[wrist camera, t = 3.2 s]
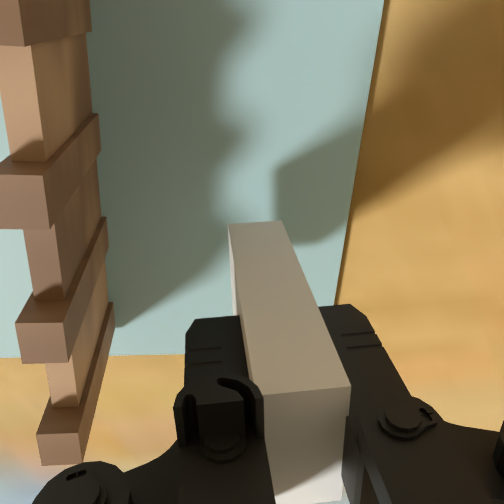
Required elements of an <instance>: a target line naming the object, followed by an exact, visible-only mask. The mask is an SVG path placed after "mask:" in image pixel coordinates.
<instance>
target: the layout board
mask: <svg viewBox="0 0 504 504" xmlns="http://www.w3.org/2000/svg"><path fill="white" fill-rule="evenodd" d="M383 5H384V0H90V13H91V25H92V32H87V33H86V40H87V52H88V63H89V75H90V87H91V99H92V111H93V113H98V114H99V127H100V139H101V151H100V153H99V154H98V156H97V158H96V159H97V170H98V182H99V194H100V206H101V217H107V228H108V241H109V248H108V251H107V254H106V257H105V265H106V277H107V289H108V301H109V302H113V304H114V317H115V331H114V335H113V339H112V343H111V347H110V351H109V356H112V355H161V354H185V334H186V332H187V330H188V329H189V327H190V326H191V324H192V323H193V321H194V320H195V319H199V318H211V317H222V316H234V315H233V308H232V291H231V274H230V256H229V238H228V224H236V223H250V222H264V221H278V220H282V222H283V225H284V227H285V230H286V232H287V234H288V237H289V239H290V241H291V244H292V246H293V249H294V251H295V253H296V256H297V258H298V261H299V263H300V265H301V268H302V270H303V272H304V275H305V277H306V280H307V282H308V284H309V287H310V289H311V291H312V294H313V296H314V299H315V301H316V303H317V306H318V307H320V306H332V305H334V300H335V294H336V288H337V282H338V276H339V270H340V264H341V258H342V252H343V246H344V240H345V234H346V228H347V222H348V216H349V210H350V204H351V198H352V192H353V186H354V180H355V174H356V168H357V162H358V156H359V150H360V144H361V137H362V131H363V125H364V119H365V113H366V107H367V101H368V95H369V89H370V83H371V77H372V71H373V65H374V59H375V53H376V47H377V41H378V35H379V29H380V23H381V17H382V11H383ZM9 155H10V149H9V143H8V137H7V131H6V125H5V119H4V113H3V107H2V101H1V95H0V162H1V161H3V160H4V159H5V158H6V157H8V156H9ZM32 291H33V288H32V282H31V276H30V270H29V264H28V258H27V252H26V246H25V240H24V234H23V229H0V358H13V357H21V354H20V349H19V344H18V339H17V334H16V329H15V321H16V320H17V318H18V316H19V314H20V313H21V311H22V309H23V307H24V306H25V304H26V302H27V300H28V298H29V297H30V295H31V293H32Z"/></svg>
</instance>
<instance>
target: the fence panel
mask: <svg viewBox="0 0 504 504" xmlns="http://www.w3.org/2000/svg"><path fill="white" fill-rule="evenodd" d="M87 32H92V25H91V13H90V0H0V95H1V101H2V107H3V113H4V119H5V125H6V131H7V137H8V143H9V149H10V155H9V156H8V157H6V158H5V159H4V160H3V161H1V162H0V229H23V234H24V240H25V246H26V252H27V258H28V264H29V270H30V276H31V282H32V288H33V291H32V293H31V295H30V297H29V298H28V300H27V302H26V304H25V306H24V307H23V309H22V311H21V313H20V314H19V316H18V318H17V320H16V321H15V329H16V334H17V339H18V344H19V349H20V354H21V360H22V364H36V363H45V366H46V372H47V378H48V384H49V390H50V398H49V401H48V403H47V406H46V409H45V411H44V414H43V417H42V420H41V422H40V425H39V428H38V431H37V433H36V437H37V442H38V448H39V453H40V458H41V463H42V466H48V465H68V464H80V463H83V459H84V455H85V451H86V446H87V442H88V438H89V434H90V430H91V426H92V422H93V418H94V413H95V409H96V405H97V401H98V397H99V393H100V389H101V384H102V380H103V376H104V372H105V368H106V364H107V360H108V356H109V351H110V347H111V343H112V339H113V335H114V331H115V317H114V304H113V302H109V301H108V289H107V277H106V265H105V257H106V254H107V251H108V248H109V241H108V228H107V217H101V206H100V194H99V182H98V170H97V159H96V158H97V156H98V154H99V153H100V151H101V139H100V127H99V114H98V113H93V111H92V99H91V87H90V75H89V63H88V52H87V40H86V33H87Z"/></svg>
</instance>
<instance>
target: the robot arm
mask: <svg viewBox="0 0 504 504" xmlns="http://www.w3.org/2000/svg"><path fill="white" fill-rule="evenodd" d="M228 238H229V256H230V274H231V291H232V308H233V315H234V316H222V317H211V318H199V319H195V320H194V321H193V323H192V324H191V326H190V327H189V329H188V330H187V332H186V334H185V370H184V387H183V389H182V390H181V391H180V392H179V393H178V394H177V396H176V400H175V403H174V406H173V411H174V418H175V425H176V432H177V440H176V441H175V443H174V444H173V445H172V446H171V447H170V449H169V450H167V451H166V452H165V453H163V454H162V455H161V456H160V457H158V458H156V459H154V460H152V461H150V462H148V463H146V464H144V465H142V466H139V467H137V468H134V469H132V470H129V471H127V472H124V473H123V472H122V471H121V470H120V469H119V468H118V467H117V466H116V465H112V464H109V463H105V462H102V461H95V462H83V463H80V464H78V465H75V466H73V467H70V468H67V469H65V470H63V471H62V472H61V473H59V474H58V475H57V476H55V477H54V478H52V479H51V480H50V481H48V483H47V484H46V485H45V486H44V488H43V489H42V490H41V491H40V493H39V494H38V495H37V496H36V498H35V500H34V501H33V503H32V504H314V503H322V502H330V501H339V500H341V497H342V485H343V483H344V486H345V489H346V493H347V496H348V499H349V502H350V504H504V421H503V424H502V427H501V430H500V432H496V431H490V430H483V429H477V428H470V427H464V426H459V425H455V424H451V423H448V422H446V421H443V419H442V418H441V416H440V415H439V414H438V413H437V412H436V411H435V410H434V409H433V407H431V406H430V405H428V404H426V403H425V402H423V401H422V400H420V399H418V398H415V397H412V396H411V395H410V393H409V391H408V389H407V388H406V386H405V384H404V382H403V381H402V379H401V377H400V375H399V373H398V372H397V370H396V368H395V366H394V365H393V363H392V361H391V359H390V358H389V356H388V354H387V352H386V350H385V349H384V347H382V343H381V342H380V340H379V338H378V336H377V334H375V331H374V329H373V327H372V326H371V324H370V322H369V320H368V319H367V317H366V316H365V315H364V314H363V313H361V312H360V311H359V310H357V309H356V308H355V307H353V306H352V305H351V304H343V305H332V306H320V307H318V306H317V303H316V301H315V299H314V296H313V294H312V291H311V289H310V287H309V284H308V282H307V280H306V277H305V275H304V272H303V270H302V268H301V265H300V263H299V261H298V258H297V256H296V253H295V251H294V249H293V246H292V244H291V241H290V239H289V237H288V234H287V232H286V230H285V227H284V225H283V222H282V220H278V221H264V222H250V223H236V224H228Z"/></svg>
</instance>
